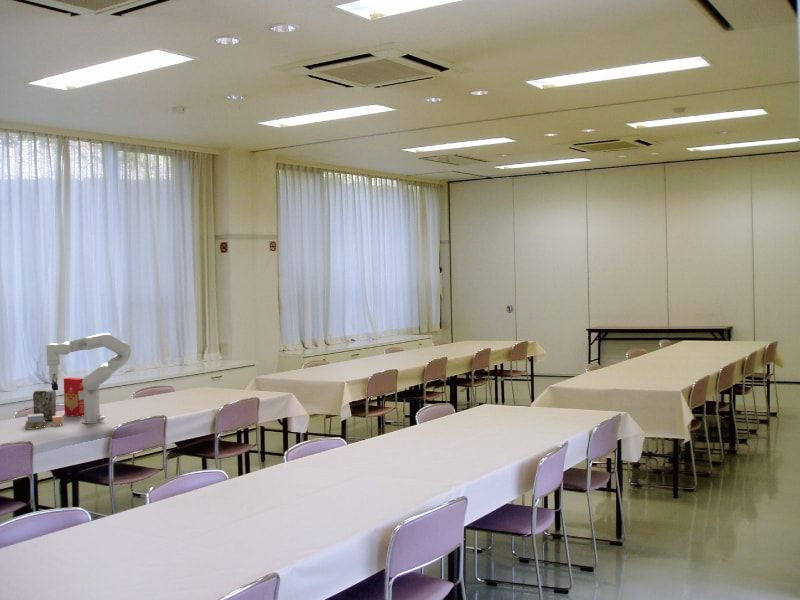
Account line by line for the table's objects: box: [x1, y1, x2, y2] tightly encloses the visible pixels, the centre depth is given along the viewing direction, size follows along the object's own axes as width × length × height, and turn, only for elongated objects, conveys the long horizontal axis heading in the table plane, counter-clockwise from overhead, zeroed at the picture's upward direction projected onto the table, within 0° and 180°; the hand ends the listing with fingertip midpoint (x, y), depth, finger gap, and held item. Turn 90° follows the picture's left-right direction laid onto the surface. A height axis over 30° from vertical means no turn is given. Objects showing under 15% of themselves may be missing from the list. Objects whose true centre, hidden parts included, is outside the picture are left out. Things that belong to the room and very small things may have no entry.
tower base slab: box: [25, 419, 46, 430], centre depth 514 cm, size 11×11×4 cm
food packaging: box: [63, 377, 84, 417], centre depth 553 cm, size 15×5×25 cm, turn 60°
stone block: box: [32, 389, 57, 421], centre depth 535 cm, size 13×7×20 cm, turn 92°
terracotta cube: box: [51, 414, 63, 426], centre depth 519 cm, size 6×6×6 cm
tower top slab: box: [27, 413, 44, 423], centre depth 514 cm, size 9×9×4 cm
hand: (54, 389), depth 520 cm, fingers open, 9 cm apart
